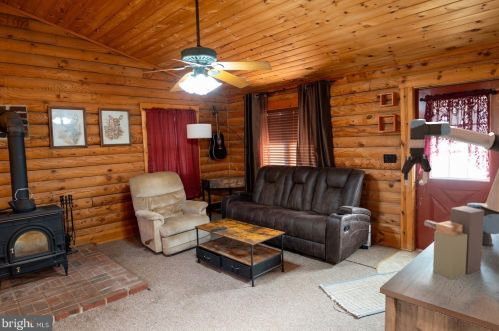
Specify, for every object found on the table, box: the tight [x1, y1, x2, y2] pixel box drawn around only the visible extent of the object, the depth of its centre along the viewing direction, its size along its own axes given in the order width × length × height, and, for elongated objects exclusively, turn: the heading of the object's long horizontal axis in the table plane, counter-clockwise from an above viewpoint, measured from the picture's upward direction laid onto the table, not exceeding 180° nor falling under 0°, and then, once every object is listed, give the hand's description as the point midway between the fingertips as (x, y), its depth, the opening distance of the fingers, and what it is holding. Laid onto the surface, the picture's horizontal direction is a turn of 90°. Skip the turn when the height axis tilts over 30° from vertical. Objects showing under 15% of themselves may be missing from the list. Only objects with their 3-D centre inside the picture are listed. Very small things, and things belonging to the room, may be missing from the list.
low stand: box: [432, 230, 467, 280], centre depth 151 cm, size 9×10×20 cm
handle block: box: [423, 219, 463, 236], centre depth 155 cm, size 8×16×4 cm, turn 20°
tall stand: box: [450, 205, 484, 276], centre depth 154 cm, size 9×10×30 cm
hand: (416, 184), depth 182 cm, fingers open, 13 cm apart
